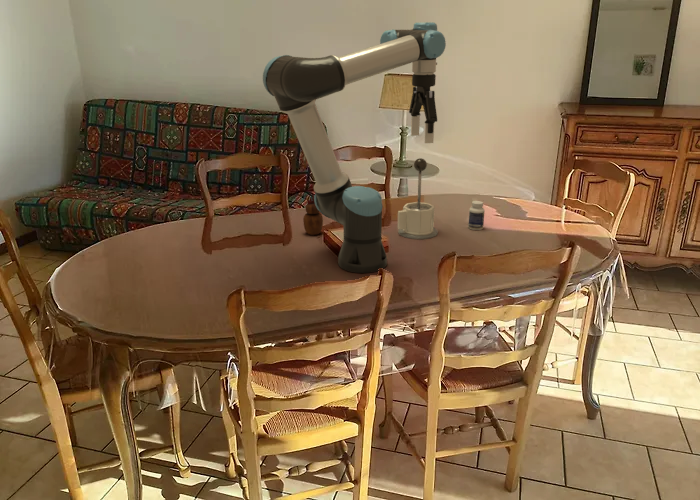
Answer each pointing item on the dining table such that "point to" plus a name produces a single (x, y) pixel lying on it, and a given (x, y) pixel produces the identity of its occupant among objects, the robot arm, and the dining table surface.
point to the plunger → (419, 183)
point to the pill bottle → (476, 216)
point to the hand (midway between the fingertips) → (421, 139)
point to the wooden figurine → (312, 218)
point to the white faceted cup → (416, 222)
